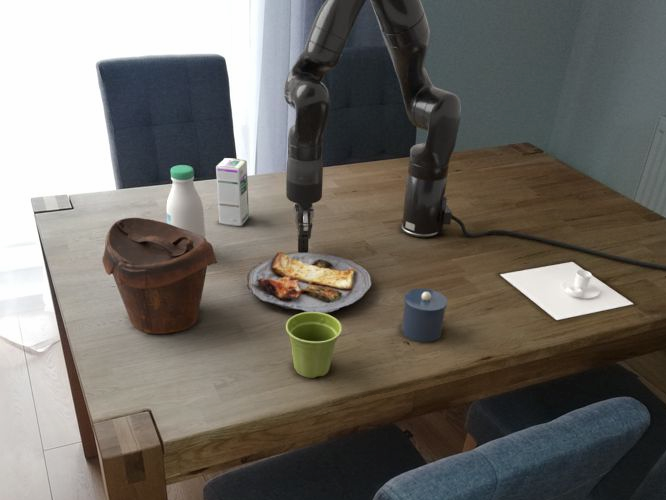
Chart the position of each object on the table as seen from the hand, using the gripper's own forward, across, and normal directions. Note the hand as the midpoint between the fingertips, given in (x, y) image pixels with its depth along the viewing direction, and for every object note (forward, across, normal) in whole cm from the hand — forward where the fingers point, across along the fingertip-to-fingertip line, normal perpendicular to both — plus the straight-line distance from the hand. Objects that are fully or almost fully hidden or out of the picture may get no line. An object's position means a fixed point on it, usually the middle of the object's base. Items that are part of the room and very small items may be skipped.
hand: (302, 251), depth 158 cm
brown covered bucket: (+1, -24, +28) cm, 37 cm away
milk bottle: (+2, +1, +25) cm, 25 cm away
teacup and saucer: (+2, -15, -55) cm, 57 cm away
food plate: (+2, -14, 0) cm, 14 cm away
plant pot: (+1, -42, +2) cm, 42 cm away
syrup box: (+2, +20, +15) cm, 25 cm away
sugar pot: (+1, -31, -20) cm, 37 cm away
